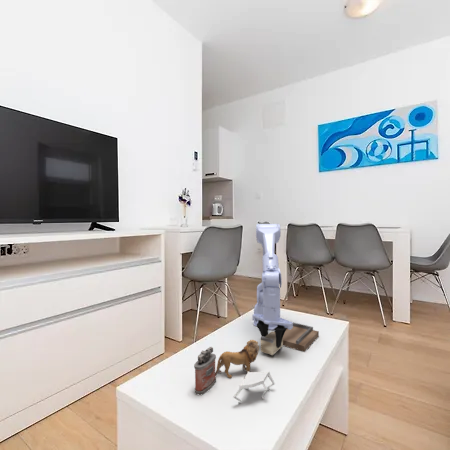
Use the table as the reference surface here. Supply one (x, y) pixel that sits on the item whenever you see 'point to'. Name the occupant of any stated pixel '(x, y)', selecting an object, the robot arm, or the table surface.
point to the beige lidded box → (269, 343)
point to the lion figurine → (239, 358)
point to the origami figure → (254, 382)
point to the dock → (299, 337)
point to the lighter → (205, 371)
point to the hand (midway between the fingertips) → (272, 344)
